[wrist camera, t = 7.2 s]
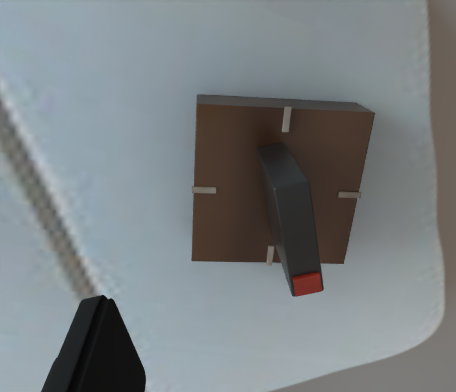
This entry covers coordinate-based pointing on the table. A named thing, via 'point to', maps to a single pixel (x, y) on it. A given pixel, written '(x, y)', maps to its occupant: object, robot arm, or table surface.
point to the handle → (291, 218)
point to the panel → (252, 181)
